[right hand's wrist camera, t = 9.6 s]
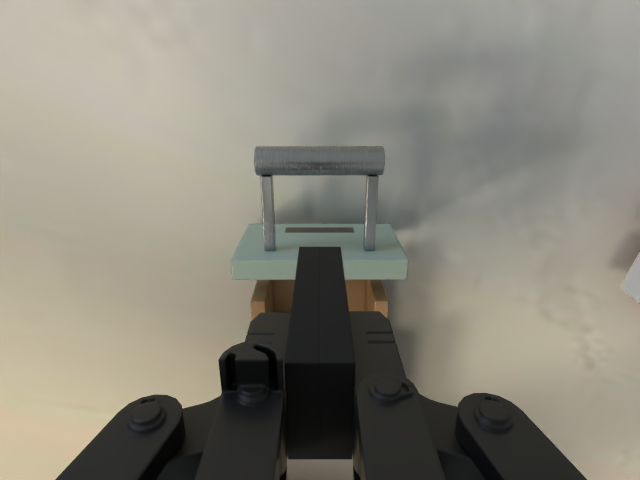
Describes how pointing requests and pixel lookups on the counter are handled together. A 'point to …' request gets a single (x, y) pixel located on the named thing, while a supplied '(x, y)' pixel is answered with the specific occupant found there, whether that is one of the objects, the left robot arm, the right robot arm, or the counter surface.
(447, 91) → the counter surface
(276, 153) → the drawer
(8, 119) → the counter surface
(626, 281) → the toy
